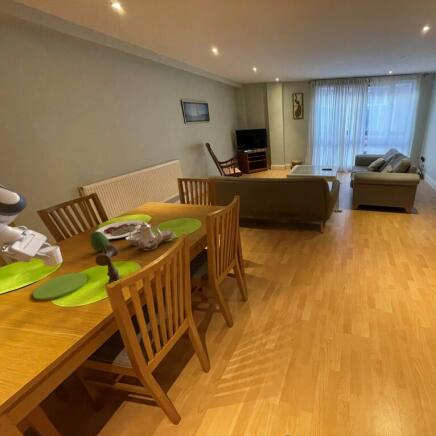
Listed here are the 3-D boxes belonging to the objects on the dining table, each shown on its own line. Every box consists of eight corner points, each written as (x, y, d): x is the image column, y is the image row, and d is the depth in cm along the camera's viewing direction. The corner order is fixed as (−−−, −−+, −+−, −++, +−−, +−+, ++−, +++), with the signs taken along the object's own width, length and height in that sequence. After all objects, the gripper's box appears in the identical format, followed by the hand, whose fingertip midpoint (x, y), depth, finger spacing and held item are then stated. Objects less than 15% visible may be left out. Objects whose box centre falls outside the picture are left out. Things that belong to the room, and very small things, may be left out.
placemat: (35, 306, 96) (34, 304, 95) (31, 287, 107) (30, 286, 106) (91, 284, 108) (90, 283, 108) (82, 270, 119) (81, 268, 119)
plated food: (147, 234, 157) (146, 229, 155) (90, 245, 143) (88, 240, 142) (147, 219, 181) (146, 215, 180) (98, 228, 167) (96, 223, 166)
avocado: (97, 248, 140) (90, 229, 135) (112, 246, 142) (107, 228, 137) (91, 255, 133) (84, 235, 128) (108, 252, 135) (101, 233, 130)
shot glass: (67, 260, 106) (62, 247, 104) (48, 269, 100) (41, 254, 98) (59, 257, 109) (53, 244, 106) (40, 265, 103) (33, 251, 100)
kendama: (126, 274, 116) (114, 237, 108) (119, 286, 107) (106, 246, 100) (112, 276, 114) (99, 238, 107) (103, 288, 106) (89, 249, 98)
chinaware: (177, 237, 156) (172, 213, 151) (176, 246, 141) (170, 219, 136) (127, 245, 146) (120, 219, 141) (120, 256, 131) (112, 227, 126)
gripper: (4, 243, 87) (50, 258, 95) (24, 224, 103) (62, 239, 111) (-8, 257, 86) (39, 271, 95) (14, 236, 103) (53, 250, 111)
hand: (52, 253), depth 103 cm, fingers closed on shot glass, 7 cm apart
